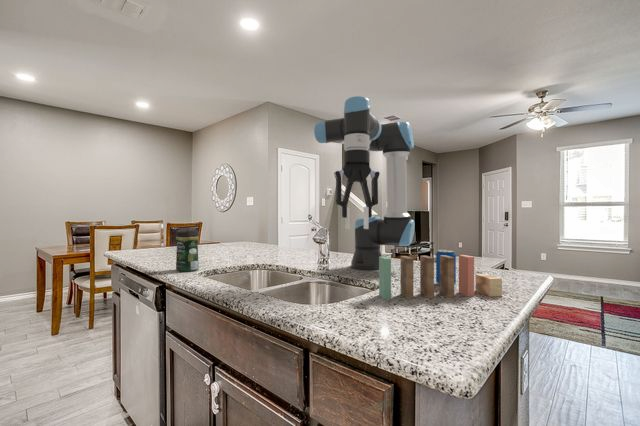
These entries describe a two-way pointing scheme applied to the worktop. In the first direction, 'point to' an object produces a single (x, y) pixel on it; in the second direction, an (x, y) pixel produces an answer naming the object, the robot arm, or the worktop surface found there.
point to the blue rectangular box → (440, 252)
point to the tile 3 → (427, 276)
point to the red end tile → (466, 275)
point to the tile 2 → (407, 277)
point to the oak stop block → (489, 285)
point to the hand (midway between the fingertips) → (356, 228)
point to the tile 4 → (447, 275)
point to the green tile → (385, 278)
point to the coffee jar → (187, 249)
